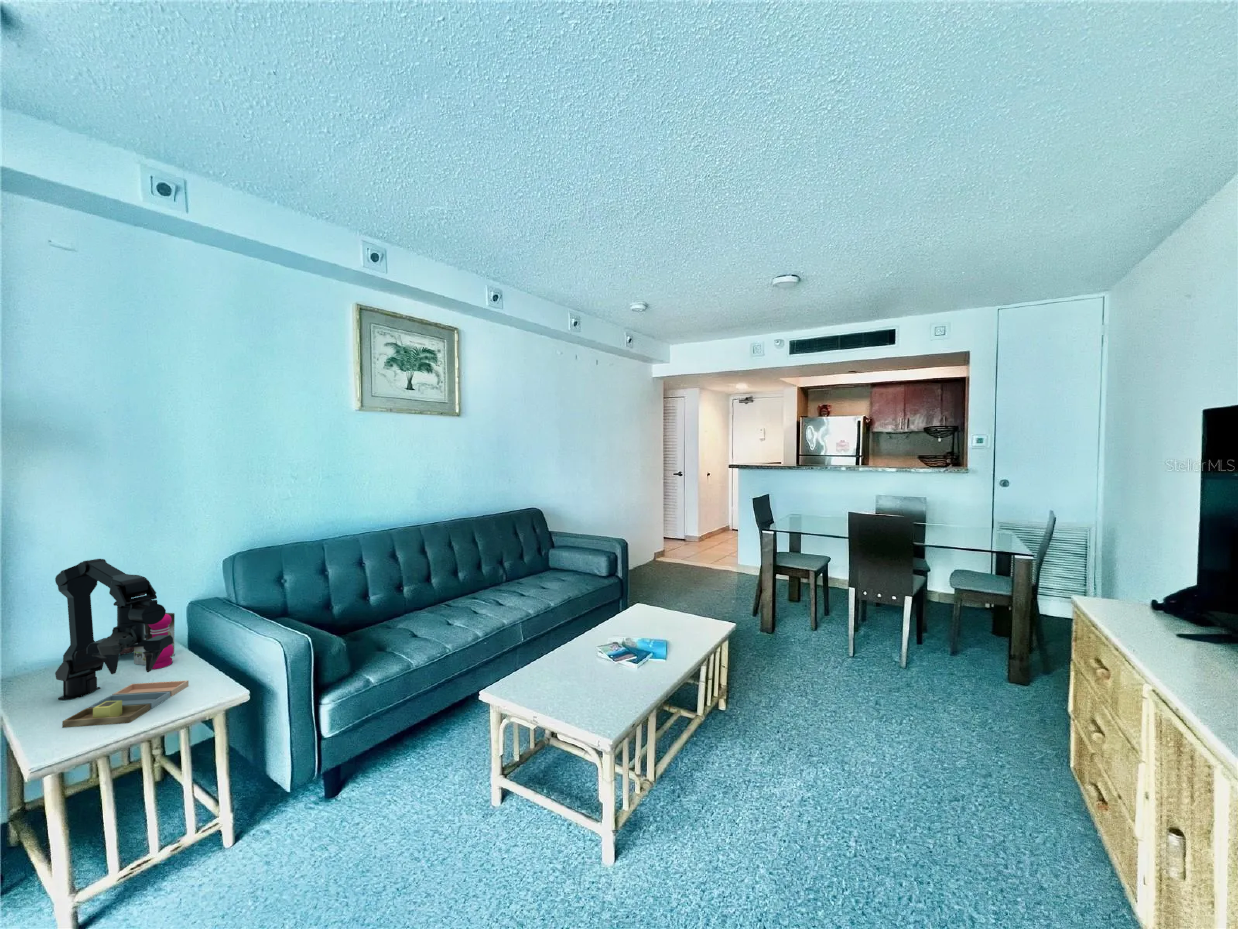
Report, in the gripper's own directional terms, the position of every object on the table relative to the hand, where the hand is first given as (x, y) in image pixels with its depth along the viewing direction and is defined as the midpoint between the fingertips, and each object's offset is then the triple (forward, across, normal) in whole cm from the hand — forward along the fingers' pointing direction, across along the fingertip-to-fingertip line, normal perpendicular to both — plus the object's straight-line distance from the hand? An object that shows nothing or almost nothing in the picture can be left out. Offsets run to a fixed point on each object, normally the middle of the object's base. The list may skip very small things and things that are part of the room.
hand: (131, 672), depth 142 cm
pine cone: (+10, -34, +42) cm, 55 cm away
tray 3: (+10, 0, +7) cm, 12 cm away
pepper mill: (+10, -14, +30) cm, 35 cm away
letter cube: (+10, 0, -8) cm, 12 cm away
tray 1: (+10, 0, -8) cm, 13 cm away
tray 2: (+10, 0, 0) cm, 10 cm away
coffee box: (+10, -20, +36) cm, 43 cm away
